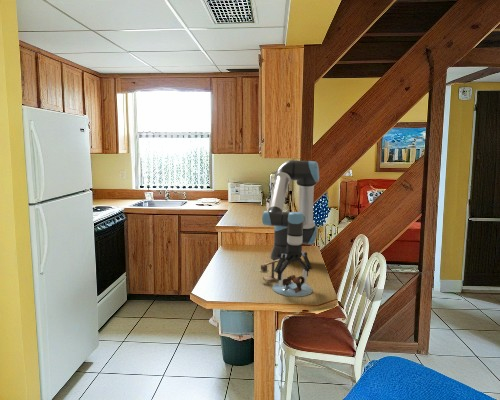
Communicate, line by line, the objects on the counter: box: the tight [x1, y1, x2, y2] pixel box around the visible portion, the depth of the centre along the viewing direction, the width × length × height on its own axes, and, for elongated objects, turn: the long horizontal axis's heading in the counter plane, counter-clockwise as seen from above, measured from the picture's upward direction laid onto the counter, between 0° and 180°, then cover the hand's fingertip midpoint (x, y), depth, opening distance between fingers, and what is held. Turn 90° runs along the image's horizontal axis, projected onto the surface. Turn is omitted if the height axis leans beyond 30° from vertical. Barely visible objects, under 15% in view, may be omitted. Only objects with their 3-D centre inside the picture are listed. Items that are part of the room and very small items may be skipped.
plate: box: [272, 281, 313, 298], centre depth 206 cm, size 20×20×1 cm
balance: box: [258, 259, 279, 283], centre depth 218 cm, size 16×5×11 cm, turn 114°
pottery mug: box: [283, 274, 305, 293], centre depth 205 cm, size 12×10×8 cm
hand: (292, 284), depth 205 cm, fingers open, 13 cm apart
